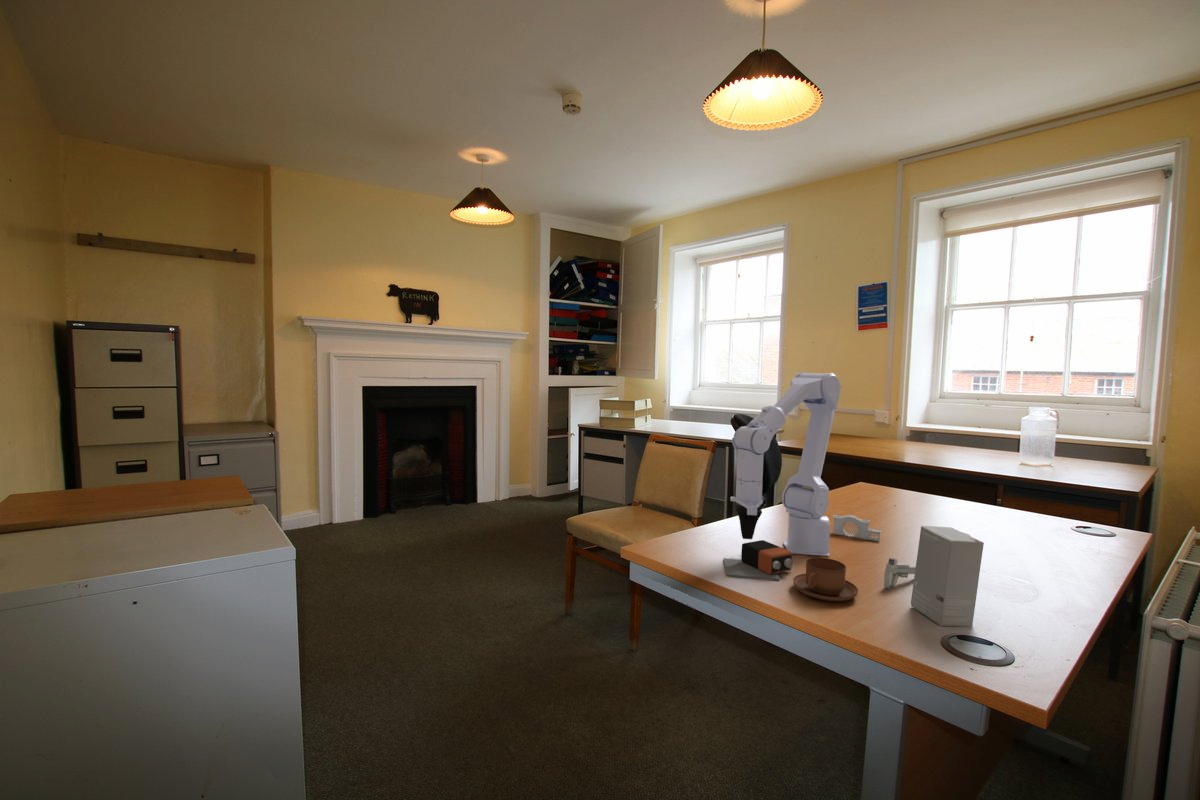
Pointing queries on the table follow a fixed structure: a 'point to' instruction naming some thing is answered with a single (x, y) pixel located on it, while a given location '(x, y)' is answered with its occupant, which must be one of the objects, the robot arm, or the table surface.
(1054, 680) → the table surface
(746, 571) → the mat
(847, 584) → the cup and saucer
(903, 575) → the caliper
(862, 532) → the garden wall model
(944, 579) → the skincare box
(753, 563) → the battery
